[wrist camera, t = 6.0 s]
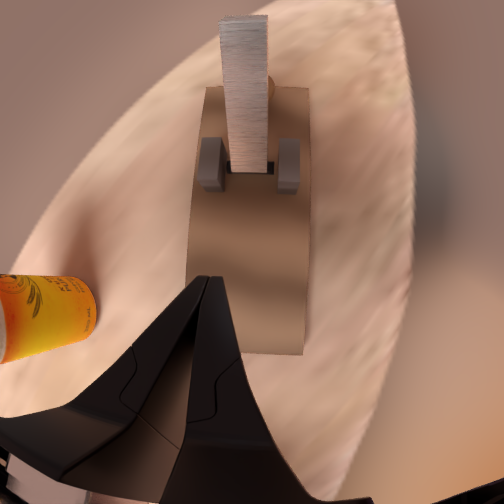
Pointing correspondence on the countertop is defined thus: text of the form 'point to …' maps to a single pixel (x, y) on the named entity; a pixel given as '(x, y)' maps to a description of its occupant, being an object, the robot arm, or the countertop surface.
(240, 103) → the lever
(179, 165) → the countertop surface
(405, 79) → the countertop surface
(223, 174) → the base
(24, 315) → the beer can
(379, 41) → the countertop surface
